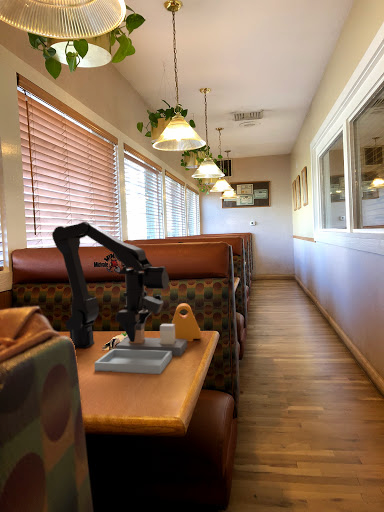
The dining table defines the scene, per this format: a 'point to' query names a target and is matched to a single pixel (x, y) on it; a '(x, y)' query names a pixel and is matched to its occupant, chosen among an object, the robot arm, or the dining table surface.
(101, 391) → the dining table surface
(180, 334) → the bracket
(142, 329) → the block
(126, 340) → the block
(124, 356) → the parts tray
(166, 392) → the dining table surface
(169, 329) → the block
